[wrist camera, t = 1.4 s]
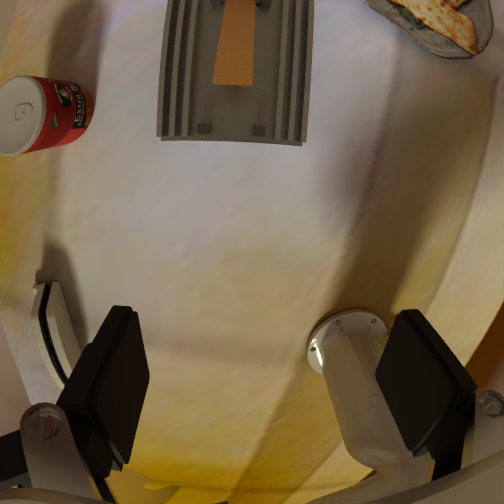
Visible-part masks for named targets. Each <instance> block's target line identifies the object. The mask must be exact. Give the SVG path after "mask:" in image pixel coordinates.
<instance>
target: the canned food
mask: <svg viewBox="0 0 504 504" xmlns="http://www.w3.org/2000/svg"><path fill="white" fill-rule="evenodd" d="M92 114H93V103H92V99H91V97H90V95H89V93H88V92H87V91H86V89H85V88H83V87H82V86H81V85H79V84H76V83H71V82H66V81H60V80H54V79H48V78H42V77H35V76H26V75H24V76H16V77H13V78H11V79H9V80H8V81H6V82H5V83H4V84H3V85H2V86H1V87H0V154H1V155H4V156H15V155H19V154H24V153H28V152H33V151H37V150H41V149H46V148H50V147H55V146H60V145H65V144H69V143H71V142H73V141H74V140H76V139H77V138H79V137H80V136H81V135H82V134H83V133H84V132H85V130H86V129H87V127H88V126H89V124H90V121H91V118H92Z"/></svg>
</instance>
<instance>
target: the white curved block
mask: <svg viewBox="0 0 504 504" xmlns="http://www.w3.org/2000/svg"><path fill="white" fill-rule="evenodd" d="M33 290H34V293H35V300H34V303H33V307H32V311H31V320H32V325H33V329H34V333H35V336H36V340H37V343H38V346H39V349H40V352H41V354H42V357H43V359H44V362H45V364H46V366H47V368H48V370H49V372H50V374H51V376H52V377H53V379H54V380H55V382H56V383H57V385H58V386H59V387H60V388H61V389H62V390H63V388H64V386H65V384H66V382H67V380H68V378H69V377H70V375H71V373H72V371H73V369H74V367H75V365H76V363H77V361H78V359H79V358H80V356H81V354H82V352H81V350H80V347H79V344H78V341H77V338H76V335H75V332H74V329H73V326H72V323H71V320H70V317H69V313H68V310H67V307H66V303H65V300H64V296H63V292H62V289H61V285H60V283H59V282H53V283H52V285H50V289H49V288H48V285H46V284H45V283H43V284H40V285H38V282H35V283H34V286H33Z"/></svg>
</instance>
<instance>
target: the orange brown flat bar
mask: <svg viewBox="0 0 504 504" xmlns="http://www.w3.org/2000/svg"><path fill="white" fill-rule="evenodd" d="M255 2H256V1H254V0H226V4H225V9H224V14H223V20H222V25H221V31H220V36H219V42H218V48H217V54H216V61H215V67H214V74H213V84H222V85H247V86H252V81H253V55H254V28H255Z"/></svg>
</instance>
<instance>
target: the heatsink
mask: <svg viewBox="0 0 504 504" xmlns="http://www.w3.org/2000/svg"><path fill="white" fill-rule="evenodd" d="M254 1H256V2H255V28H254V55H253V81H252V86H247V85H222V84H213V74H214V67H215V61H216V54H217V48H218V42H219V36H220V31H221V25H222V20H223V14H224V9H225V4H226V0H168V3H167V10H166V17H165V25H164V34H163V43H162V53H161V64H160V76H159V91H158V109H157V137H161V141H179V140H191V141H234V142H254V143H269V144H282V145H293V146H302V142H305V143H306V136H307V124H308V111H309V97H310V81H311V64H312V44H313V20H314V0H254Z"/></svg>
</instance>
